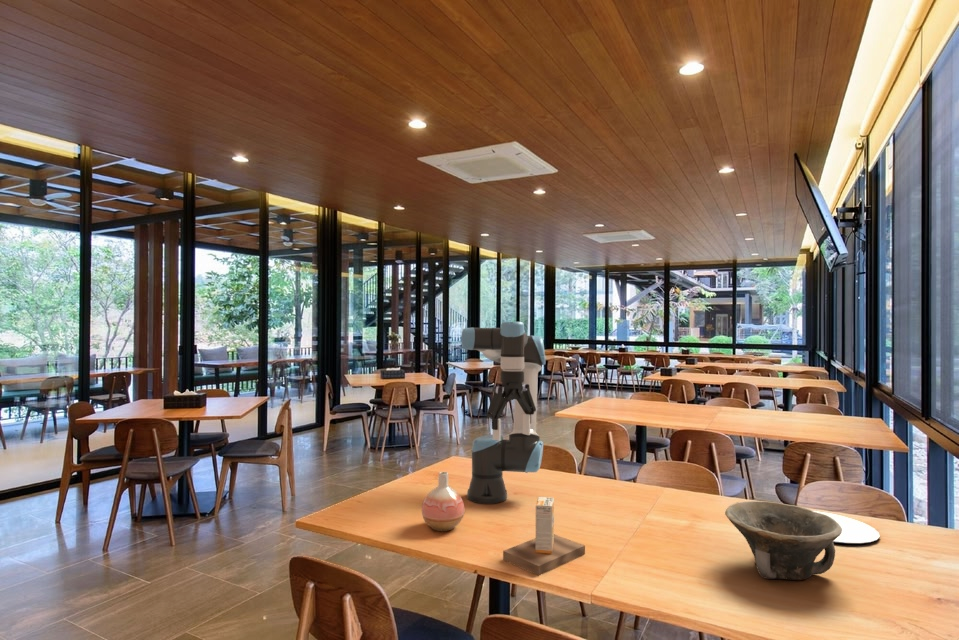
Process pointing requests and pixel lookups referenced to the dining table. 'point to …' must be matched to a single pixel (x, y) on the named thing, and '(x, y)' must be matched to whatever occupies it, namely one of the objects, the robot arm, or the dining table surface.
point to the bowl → (785, 538)
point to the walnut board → (543, 555)
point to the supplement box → (544, 525)
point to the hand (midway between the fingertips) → (511, 437)
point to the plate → (853, 530)
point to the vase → (443, 506)
